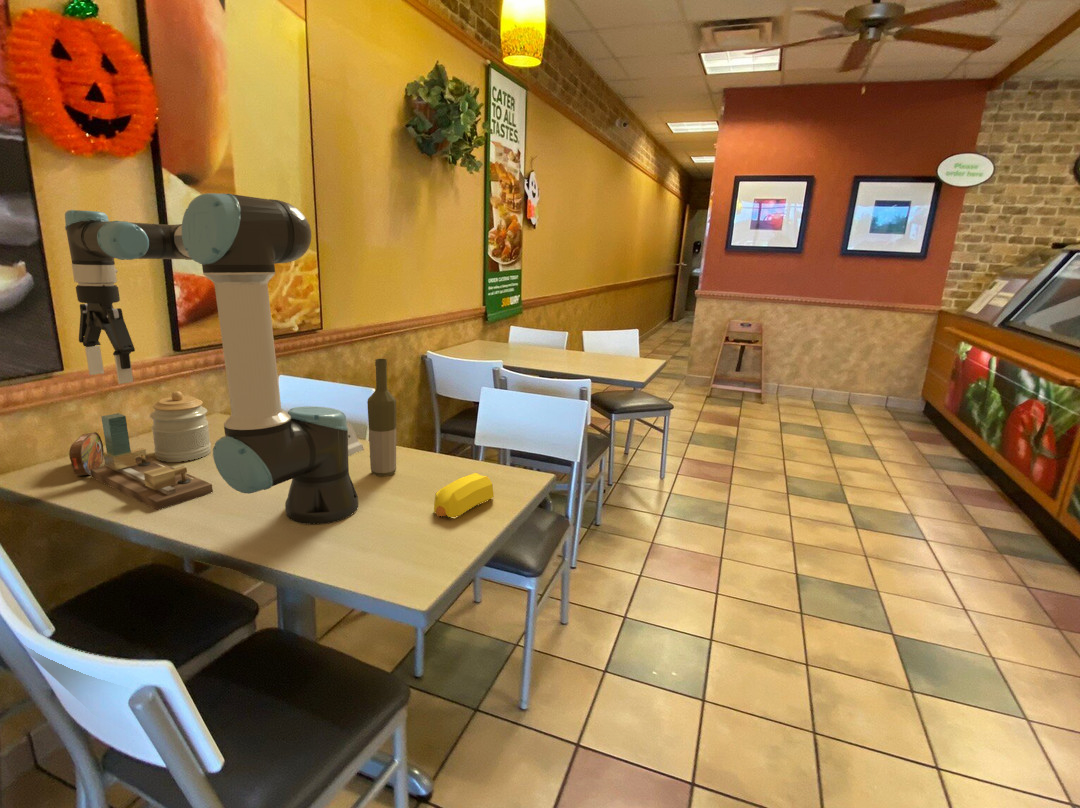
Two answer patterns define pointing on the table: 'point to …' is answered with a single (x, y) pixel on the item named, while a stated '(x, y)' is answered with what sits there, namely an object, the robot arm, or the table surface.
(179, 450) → the jar
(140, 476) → the gauge board
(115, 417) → the slider
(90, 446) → the tin
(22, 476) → the table surface
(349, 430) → the hinge
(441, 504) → the yellow rounded bar
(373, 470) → the bottle
